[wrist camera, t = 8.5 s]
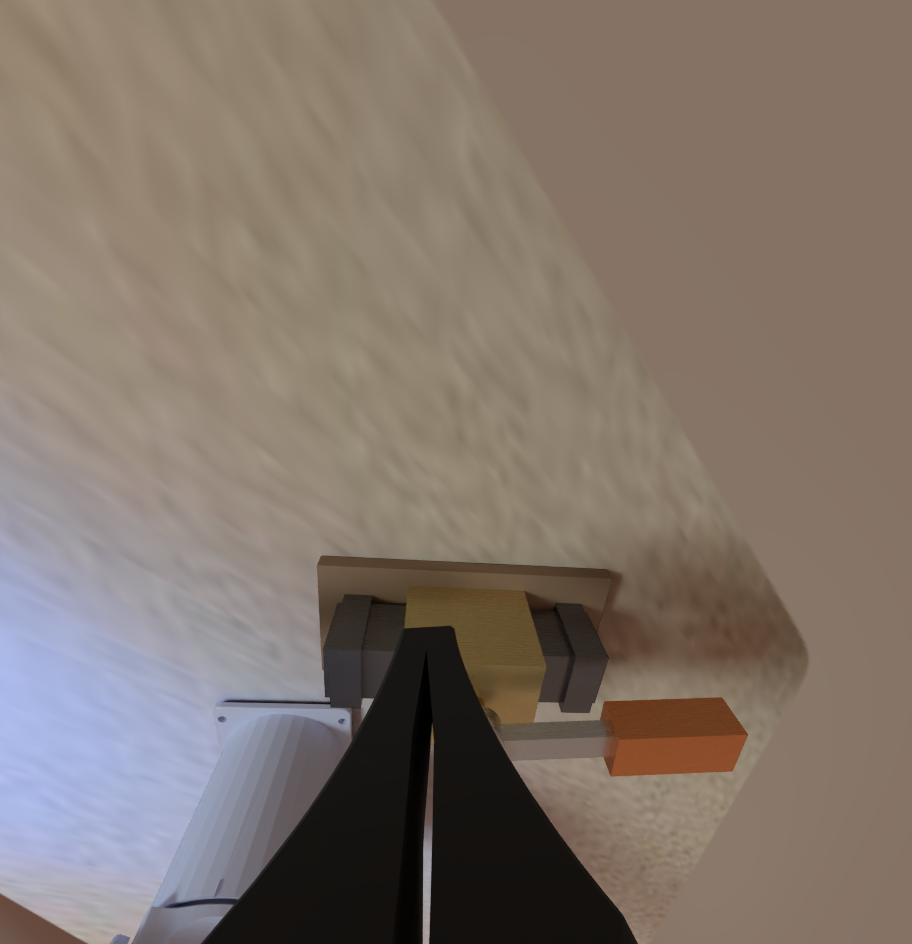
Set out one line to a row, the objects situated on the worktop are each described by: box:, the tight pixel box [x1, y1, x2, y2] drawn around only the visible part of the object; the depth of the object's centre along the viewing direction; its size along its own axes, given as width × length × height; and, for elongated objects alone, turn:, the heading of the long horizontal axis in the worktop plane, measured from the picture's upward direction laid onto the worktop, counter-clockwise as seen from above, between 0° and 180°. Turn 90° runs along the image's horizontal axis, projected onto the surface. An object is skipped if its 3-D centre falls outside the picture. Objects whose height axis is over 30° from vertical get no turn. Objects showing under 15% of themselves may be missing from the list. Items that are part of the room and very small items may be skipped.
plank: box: [317, 556, 612, 670], centre depth 23 cm, size 7×15×1 cm, turn 85°
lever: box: [482, 697, 748, 776], centre depth 17 cm, size 12×3×2 cm, turn 89°
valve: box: [323, 586, 609, 745], centre depth 20 cm, size 5×13×5 cm, turn 85°
